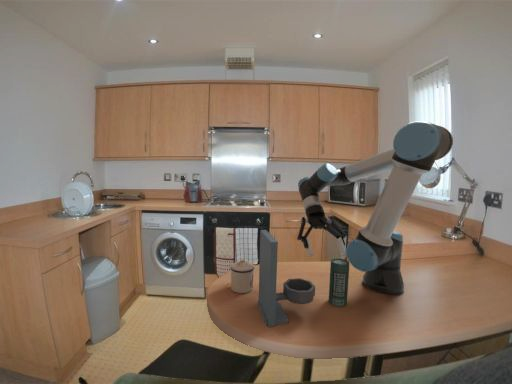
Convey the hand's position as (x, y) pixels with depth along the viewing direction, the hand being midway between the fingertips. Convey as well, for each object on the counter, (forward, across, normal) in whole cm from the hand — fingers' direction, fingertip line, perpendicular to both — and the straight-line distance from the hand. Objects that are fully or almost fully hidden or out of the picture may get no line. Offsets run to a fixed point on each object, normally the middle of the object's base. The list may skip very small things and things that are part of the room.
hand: (327, 255), depth 100 cm
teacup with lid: (+4, +32, -17) cm, 36 cm away
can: (+16, -1, -5) cm, 17 cm away
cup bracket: (+18, +19, -2) cm, 26 cm away
